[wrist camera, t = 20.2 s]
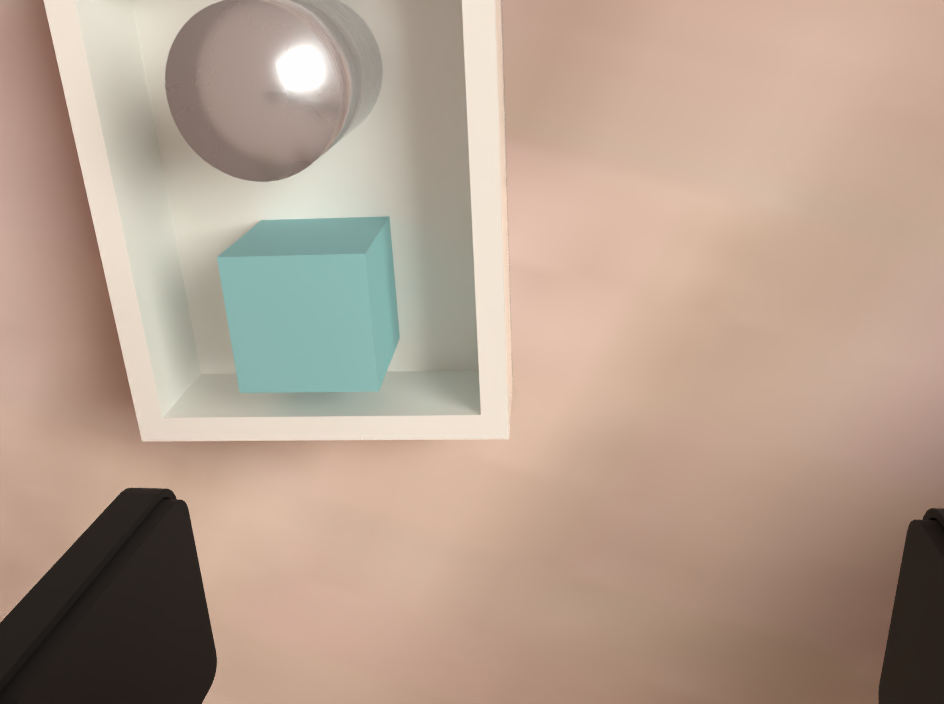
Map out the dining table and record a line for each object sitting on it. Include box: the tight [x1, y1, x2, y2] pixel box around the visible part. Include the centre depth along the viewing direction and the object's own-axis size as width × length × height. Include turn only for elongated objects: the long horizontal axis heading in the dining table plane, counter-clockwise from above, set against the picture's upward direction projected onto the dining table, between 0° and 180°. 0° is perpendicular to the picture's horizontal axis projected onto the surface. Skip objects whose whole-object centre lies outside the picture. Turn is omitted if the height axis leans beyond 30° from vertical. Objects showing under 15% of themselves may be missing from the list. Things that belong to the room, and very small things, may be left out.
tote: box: [44, 0, 513, 441], centre depth 31 cm, size 14×18×5 cm
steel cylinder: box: [165, 0, 383, 182], centre depth 27 cm, size 5×5×7 cm
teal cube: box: [217, 216, 400, 393], centre depth 31 cm, size 5×5×5 cm
